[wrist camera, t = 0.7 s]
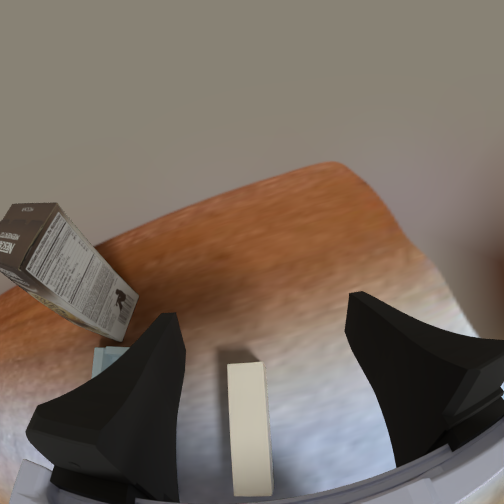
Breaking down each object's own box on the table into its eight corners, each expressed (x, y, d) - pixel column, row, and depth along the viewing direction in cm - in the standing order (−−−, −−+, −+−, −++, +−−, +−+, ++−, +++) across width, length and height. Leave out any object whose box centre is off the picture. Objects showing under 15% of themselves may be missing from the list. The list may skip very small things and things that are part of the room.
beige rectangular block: (274, 486, 18) (271, 495, 15) (240, 487, 18) (234, 496, 15) (266, 367, 25) (262, 361, 22) (234, 370, 25) (227, 364, 22)
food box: (71, 324, 29) (-21, 255, 16) (89, 281, 32) (11, 201, 19) (122, 345, 27) (15, 270, 14) (141, 294, 30) (57, 199, 17)
